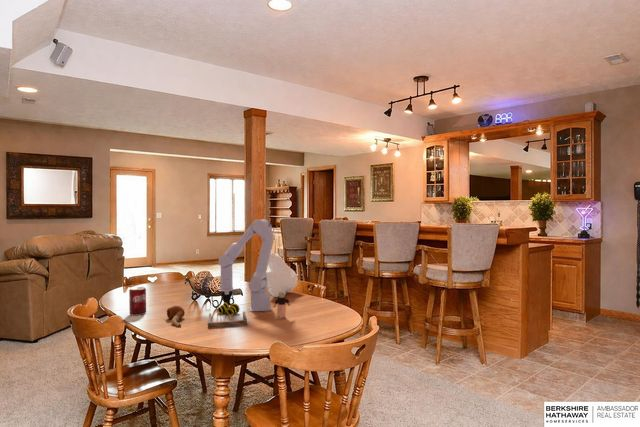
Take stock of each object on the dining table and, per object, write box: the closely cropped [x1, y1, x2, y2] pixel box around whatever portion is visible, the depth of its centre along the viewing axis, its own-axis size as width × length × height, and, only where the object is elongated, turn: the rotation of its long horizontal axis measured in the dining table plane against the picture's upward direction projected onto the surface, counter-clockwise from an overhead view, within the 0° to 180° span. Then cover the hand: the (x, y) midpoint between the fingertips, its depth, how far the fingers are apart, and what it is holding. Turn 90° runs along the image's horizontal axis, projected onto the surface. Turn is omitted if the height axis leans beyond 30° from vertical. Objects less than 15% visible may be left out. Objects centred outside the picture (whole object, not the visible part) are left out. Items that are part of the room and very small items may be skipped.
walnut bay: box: [207, 311, 248, 329], centre depth 184 cm, size 16×16×2 cm
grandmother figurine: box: [272, 290, 291, 320], centre depth 189 cm, size 8×4×13 cm, turn 118°
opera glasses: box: [217, 302, 241, 317], centre depth 198 cm, size 10×5×5 cm, turn 61°
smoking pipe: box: [166, 305, 186, 328], centre depth 185 cm, size 7×18×6 cm, turn 30°
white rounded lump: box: [266, 250, 298, 298], centre depth 241 cm, size 25×16×25 cm
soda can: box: [128, 286, 147, 316], centre depth 199 cm, size 7×7×12 cm
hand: (226, 306), depth 209 cm, fingers closed
